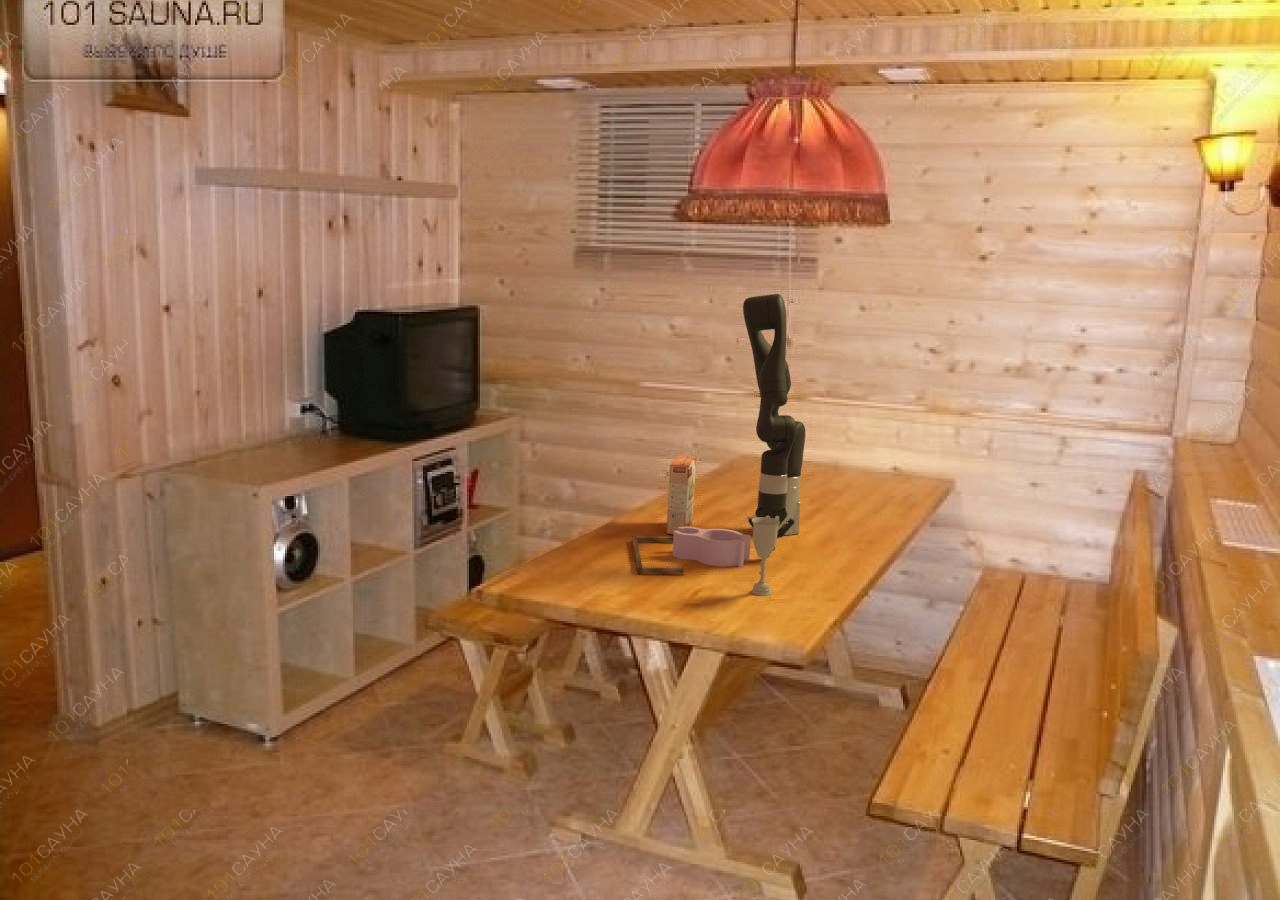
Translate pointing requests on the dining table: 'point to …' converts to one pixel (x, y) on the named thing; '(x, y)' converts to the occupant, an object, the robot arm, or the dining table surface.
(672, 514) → the cracker box
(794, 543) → the dining table surface
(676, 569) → the walnut frame
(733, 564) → the clip
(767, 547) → the chalice
